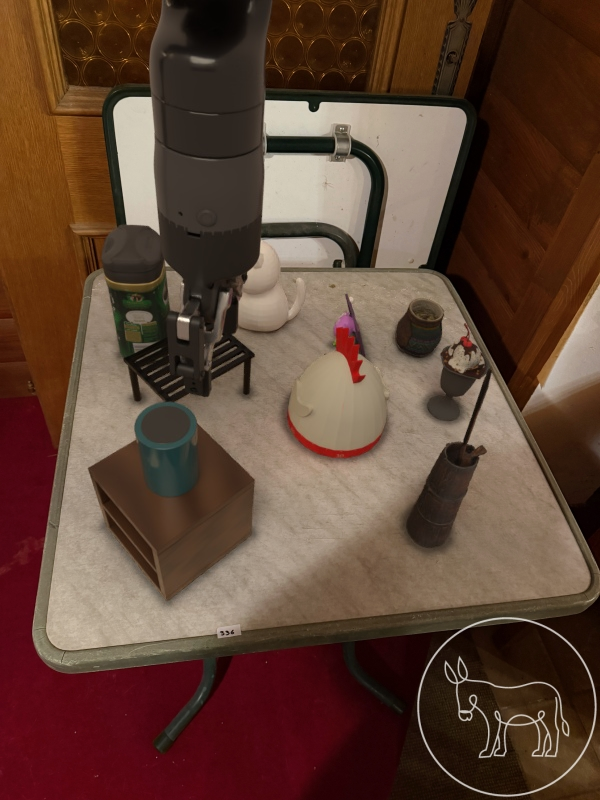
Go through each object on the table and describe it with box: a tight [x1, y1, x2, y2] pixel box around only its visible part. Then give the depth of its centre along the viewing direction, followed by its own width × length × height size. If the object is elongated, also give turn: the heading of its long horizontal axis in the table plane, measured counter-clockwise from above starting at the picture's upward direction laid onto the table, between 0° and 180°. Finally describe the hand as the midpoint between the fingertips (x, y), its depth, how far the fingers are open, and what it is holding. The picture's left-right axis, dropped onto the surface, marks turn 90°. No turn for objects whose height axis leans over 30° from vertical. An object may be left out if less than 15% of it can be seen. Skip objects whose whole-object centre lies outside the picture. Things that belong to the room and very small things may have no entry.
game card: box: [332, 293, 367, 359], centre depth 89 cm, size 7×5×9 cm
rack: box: [122, 322, 256, 403], centre depth 77 cm, size 14×10×8 cm
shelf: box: [87, 422, 256, 602], centre depth 61 cm, size 12×12×12 cm
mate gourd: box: [395, 297, 445, 357], centre depth 88 cm, size 7×8×10 cm
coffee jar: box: [100, 224, 171, 363], centre depth 79 cm, size 10×8×19 cm
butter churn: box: [406, 365, 494, 549], centre depth 59 cm, size 9×10×28 cm
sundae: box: [426, 322, 491, 422], centre depth 78 cm, size 7×7×15 cm
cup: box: [133, 401, 200, 497], centre depth 54 cm, size 6×6×8 cm
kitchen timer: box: [286, 327, 391, 459], centre depth 74 cm, size 14×14×15 cm
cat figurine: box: [238, 238, 307, 332], centre depth 87 cm, size 9×12×15 cm
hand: (212, 360), depth 52 cm, fingers open, 8 cm apart
